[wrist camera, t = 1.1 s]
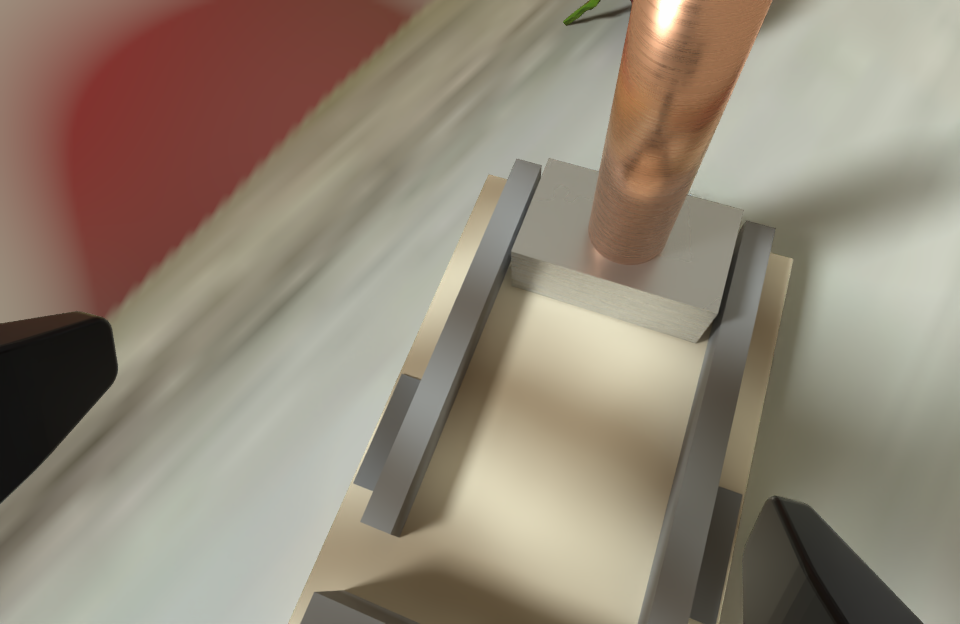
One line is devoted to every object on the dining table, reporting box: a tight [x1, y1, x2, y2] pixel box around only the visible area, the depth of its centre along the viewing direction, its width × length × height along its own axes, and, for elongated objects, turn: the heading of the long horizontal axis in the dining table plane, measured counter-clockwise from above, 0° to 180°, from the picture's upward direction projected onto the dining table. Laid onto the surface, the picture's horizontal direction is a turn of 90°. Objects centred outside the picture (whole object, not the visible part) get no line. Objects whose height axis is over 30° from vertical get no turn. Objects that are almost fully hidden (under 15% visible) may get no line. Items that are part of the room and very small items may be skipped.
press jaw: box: [511, 0, 772, 343], centre depth 17 cm, size 4×7×13 cm, turn 69°
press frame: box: [288, 159, 793, 624], centre depth 20 cm, size 18×12×4 cm, turn 159°
